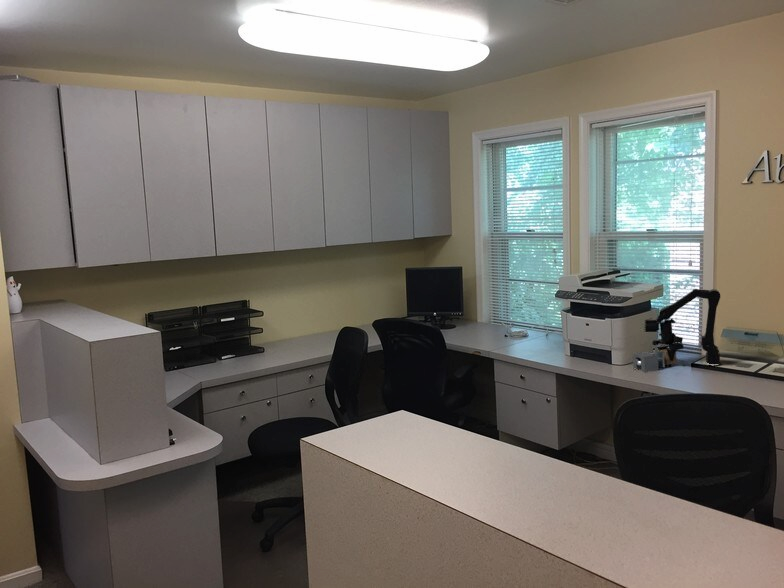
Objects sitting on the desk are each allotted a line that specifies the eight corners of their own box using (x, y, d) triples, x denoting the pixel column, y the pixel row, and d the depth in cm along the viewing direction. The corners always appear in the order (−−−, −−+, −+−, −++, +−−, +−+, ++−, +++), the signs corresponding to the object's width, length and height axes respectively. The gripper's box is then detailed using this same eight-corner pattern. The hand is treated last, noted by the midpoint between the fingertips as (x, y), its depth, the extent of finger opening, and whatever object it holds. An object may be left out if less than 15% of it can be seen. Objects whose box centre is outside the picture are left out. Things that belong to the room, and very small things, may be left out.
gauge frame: (675, 367, 339) (673, 351, 338) (645, 372, 335) (643, 357, 334) (658, 362, 352) (657, 348, 351) (629, 367, 348) (628, 353, 347)
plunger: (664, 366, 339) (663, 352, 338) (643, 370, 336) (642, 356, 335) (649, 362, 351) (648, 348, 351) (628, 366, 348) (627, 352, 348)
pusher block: (676, 362, 342) (675, 350, 341) (666, 364, 341) (665, 351, 340) (670, 361, 347) (669, 348, 346) (660, 363, 345) (659, 350, 345)
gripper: (691, 331, 335) (693, 360, 336) (668, 327, 353) (670, 355, 354) (672, 334, 332) (675, 364, 334) (650, 330, 350) (652, 358, 352)
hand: (668, 360), depth 344 cm, fingers closed on pusher block, 5 cm apart
